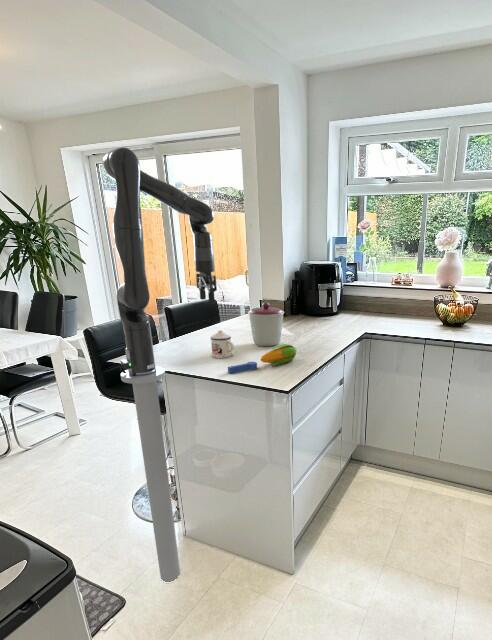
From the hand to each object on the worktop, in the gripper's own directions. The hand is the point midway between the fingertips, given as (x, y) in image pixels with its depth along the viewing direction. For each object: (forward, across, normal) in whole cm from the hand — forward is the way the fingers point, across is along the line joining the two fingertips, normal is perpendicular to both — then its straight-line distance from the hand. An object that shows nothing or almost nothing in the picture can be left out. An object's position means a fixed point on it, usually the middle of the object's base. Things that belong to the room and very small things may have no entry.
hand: (207, 300), depth 164 cm
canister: (+26, -12, +36) cm, 46 cm away
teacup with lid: (+26, -4, +8) cm, 28 cm away
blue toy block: (+26, +20, +5) cm, 33 cm away
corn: (+26, +20, +22) cm, 39 cm away
